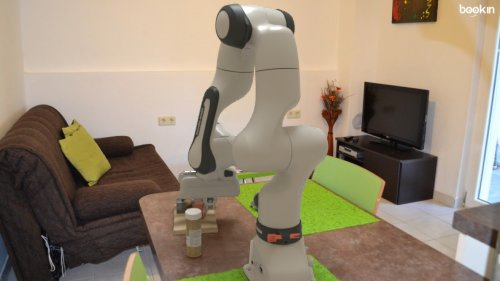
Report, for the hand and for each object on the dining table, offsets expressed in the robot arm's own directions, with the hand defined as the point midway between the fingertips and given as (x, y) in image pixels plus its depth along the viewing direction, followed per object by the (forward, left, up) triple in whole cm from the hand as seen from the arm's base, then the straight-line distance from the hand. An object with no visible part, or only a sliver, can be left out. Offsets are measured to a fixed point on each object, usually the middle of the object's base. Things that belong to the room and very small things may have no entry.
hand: (210, 209), depth 135 cm
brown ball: (+8, +7, -3) cm, 11 cm away
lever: (+7, +2, -3) cm, 8 cm away
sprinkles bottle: (-21, +6, -5) cm, 23 cm away
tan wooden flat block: (+3, +5, -5) cm, 7 cm away
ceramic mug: (+9, -21, -5) cm, 23 cm away
